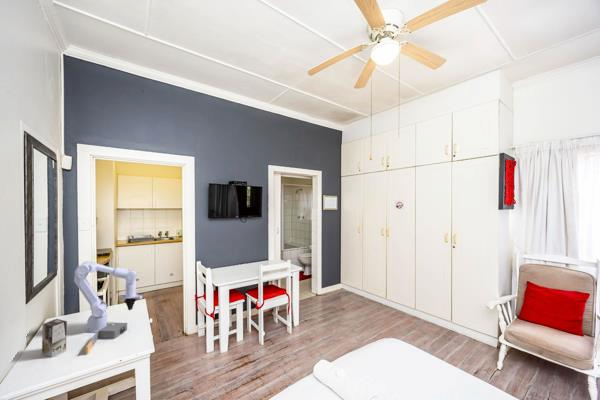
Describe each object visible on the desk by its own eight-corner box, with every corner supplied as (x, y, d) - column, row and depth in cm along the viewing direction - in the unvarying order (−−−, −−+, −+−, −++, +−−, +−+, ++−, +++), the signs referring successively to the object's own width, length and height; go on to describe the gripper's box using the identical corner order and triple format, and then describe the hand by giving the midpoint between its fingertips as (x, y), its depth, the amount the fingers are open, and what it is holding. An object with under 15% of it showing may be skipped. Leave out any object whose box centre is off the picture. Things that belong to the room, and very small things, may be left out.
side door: (96, 338, 144) (96, 331, 144) (98, 337, 144) (98, 331, 144) (85, 354, 129) (85, 346, 129) (88, 353, 129) (88, 346, 129)
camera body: (98, 338, 144) (98, 330, 144) (111, 329, 154) (111, 321, 154) (115, 338, 144) (115, 330, 144) (128, 330, 154) (128, 322, 154)
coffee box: (66, 350, 132) (67, 321, 132) (51, 357, 126) (52, 326, 126) (56, 347, 135) (57, 318, 135) (41, 353, 129) (41, 323, 129)
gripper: (145, 287, 166) (145, 307, 166) (124, 286, 167) (124, 306, 166) (138, 291, 159) (137, 311, 159) (116, 290, 160) (116, 311, 159)
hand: (130, 309), depth 162 cm, fingers closed
